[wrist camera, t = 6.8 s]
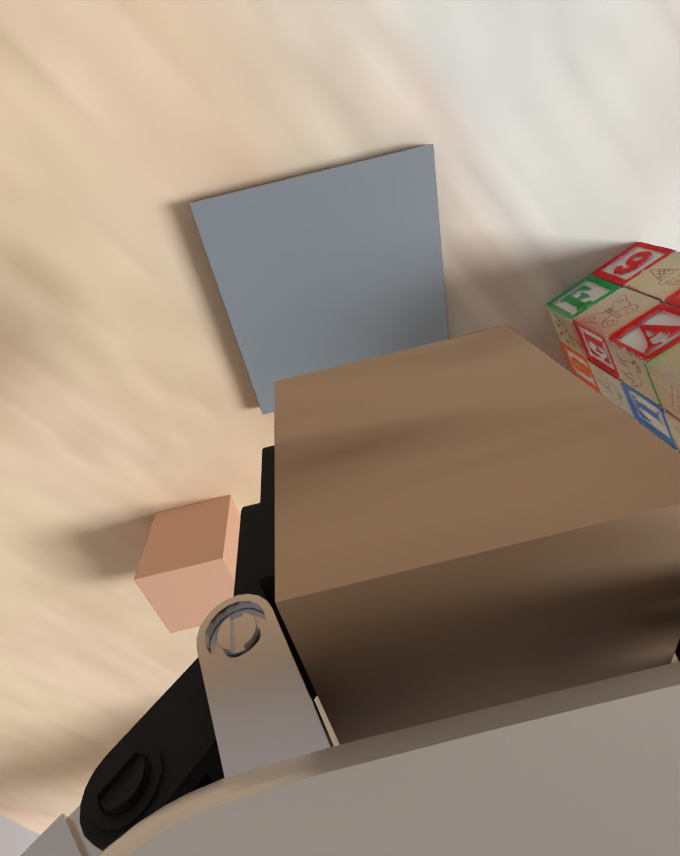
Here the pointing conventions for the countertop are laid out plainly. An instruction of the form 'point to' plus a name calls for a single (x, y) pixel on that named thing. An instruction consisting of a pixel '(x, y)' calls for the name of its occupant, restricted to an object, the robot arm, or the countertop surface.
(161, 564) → the salmon pink cube
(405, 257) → the baseplate
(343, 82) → the countertop surface
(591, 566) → the walnut brick
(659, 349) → the stack of blocks
